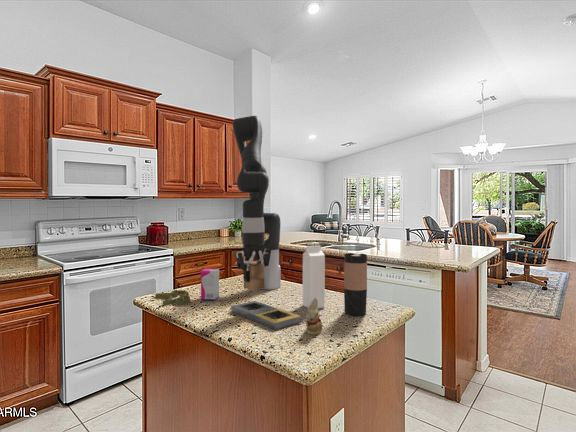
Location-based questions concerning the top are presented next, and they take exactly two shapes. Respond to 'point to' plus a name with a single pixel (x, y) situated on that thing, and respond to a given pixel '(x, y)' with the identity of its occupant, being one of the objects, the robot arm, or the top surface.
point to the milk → (313, 276)
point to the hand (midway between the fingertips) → (253, 280)
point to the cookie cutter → (181, 300)
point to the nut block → (255, 277)
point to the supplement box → (210, 284)
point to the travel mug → (355, 284)
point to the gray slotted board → (266, 314)
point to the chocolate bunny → (313, 319)
